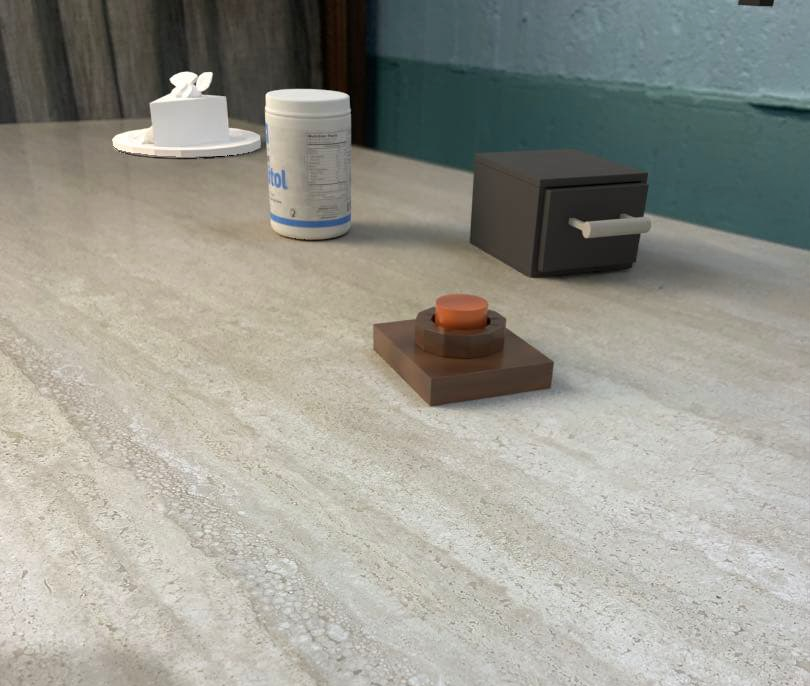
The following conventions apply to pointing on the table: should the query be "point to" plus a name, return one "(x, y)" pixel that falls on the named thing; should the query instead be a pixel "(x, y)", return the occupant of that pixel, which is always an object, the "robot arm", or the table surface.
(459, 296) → the button
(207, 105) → the white cake on plate
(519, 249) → the small cabinet
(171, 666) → the table surface
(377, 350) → the block
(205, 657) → the table surface
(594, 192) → the drawer
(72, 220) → the table surface
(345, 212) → the supplement tub
